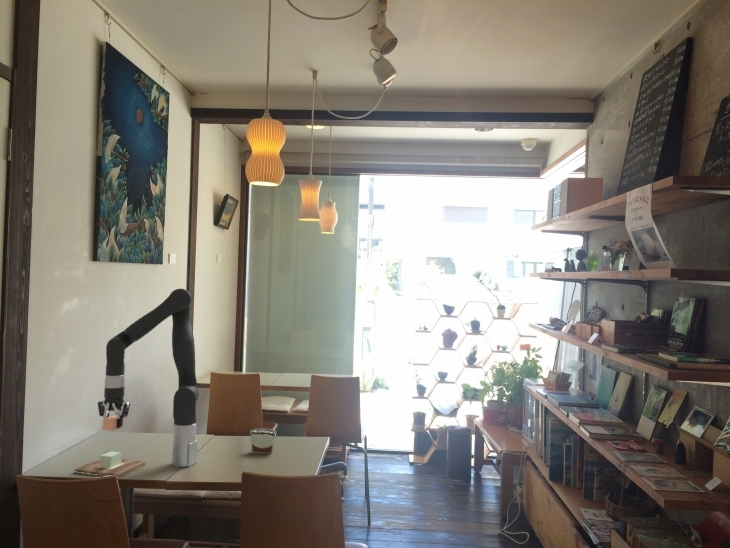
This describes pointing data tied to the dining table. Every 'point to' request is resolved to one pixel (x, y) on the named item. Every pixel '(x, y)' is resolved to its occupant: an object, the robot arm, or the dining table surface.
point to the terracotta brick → (110, 423)
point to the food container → (262, 440)
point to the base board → (117, 470)
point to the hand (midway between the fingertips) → (113, 427)
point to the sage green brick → (110, 459)
